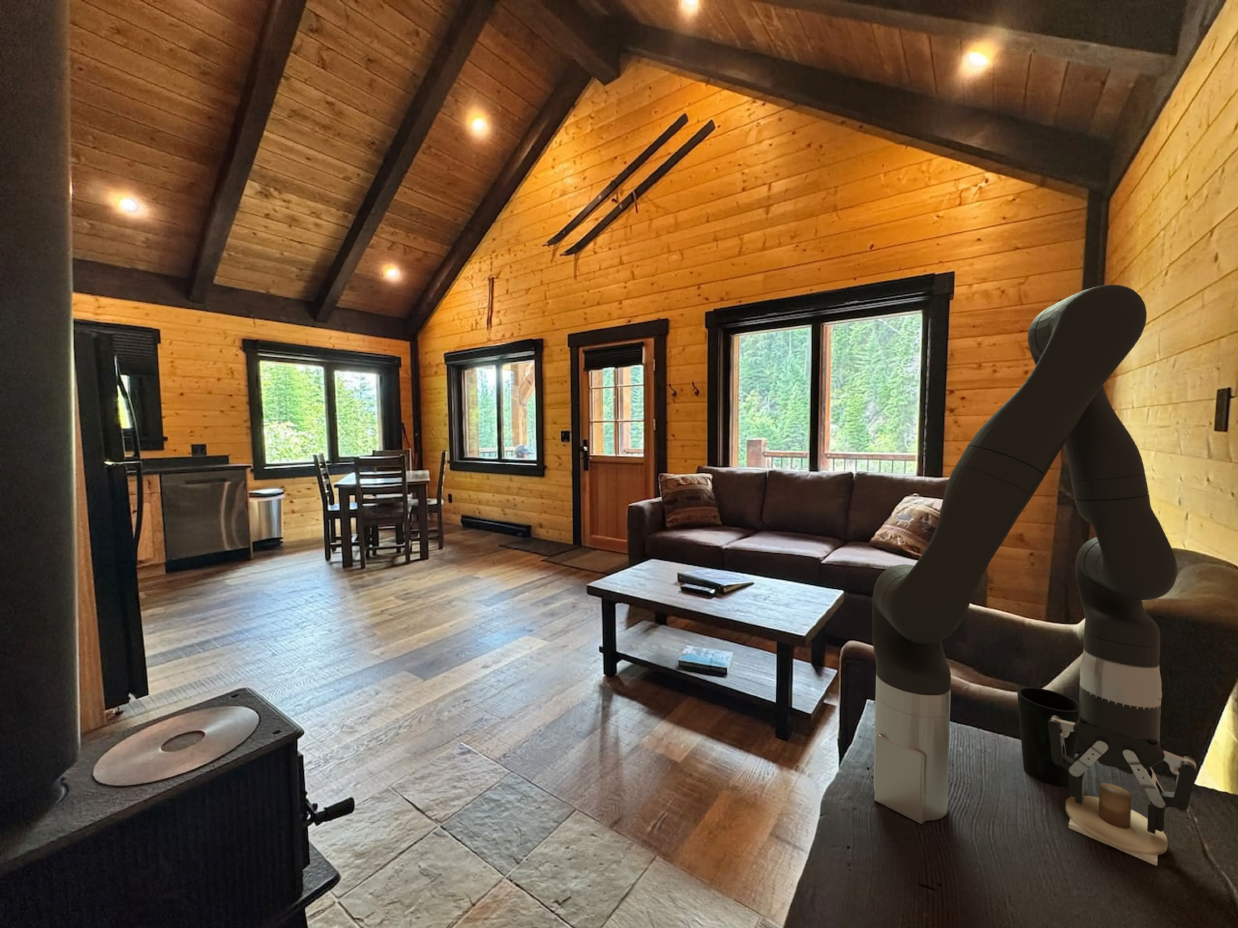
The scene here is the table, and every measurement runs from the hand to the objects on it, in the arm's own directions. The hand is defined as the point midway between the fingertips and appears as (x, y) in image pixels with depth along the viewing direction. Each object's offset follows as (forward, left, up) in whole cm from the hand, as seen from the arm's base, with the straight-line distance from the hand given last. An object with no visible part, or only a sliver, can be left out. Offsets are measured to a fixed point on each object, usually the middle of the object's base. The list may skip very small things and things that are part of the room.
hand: (1114, 814), depth 66 cm
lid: (0, 0, -2) cm, 2 cm away
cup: (+8, +8, -2) cm, 12 cm away
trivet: (0, 0, -2) cm, 2 cm away
